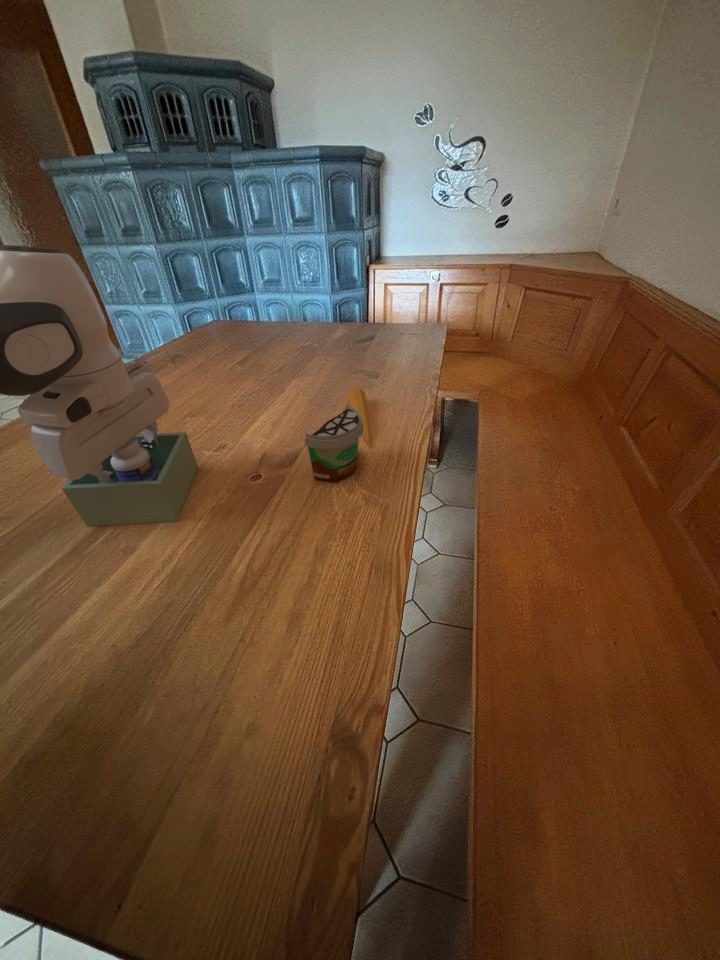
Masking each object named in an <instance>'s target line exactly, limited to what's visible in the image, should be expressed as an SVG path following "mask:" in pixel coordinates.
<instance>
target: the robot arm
mask: <svg viewBox="0 0 720 960" xmlns="http://www.w3.org/2000/svg"><path fill="white" fill-rule="evenodd" d="M0 396H5V397H24V396H27V398H25V400H23V401H22V403H21V404H20V405H19V406H18V408H17V412H18V415H19V417H20V418H21V419H22V420H23V421H24V422H27V423H30V424H32V425H31V427H30V438H31V441H32V444H33V446H34V449H35V450H36V452H37V454H38V456H39V457H40V459H41V461H42V462H43V465H44V466H45V467H46V468H47V470H48V471H49V472H50V473H51V474H52V475H54V476H56V477H60V478H63V479H68V480H69V479H80V478H81V477H83V476H84V475H85V474H87V473H89V474H91V475H94V476H96V477H97V478H98V480H99V482H100V483H115V482H116V481H117V478H116V477H115V474H114V472H111V471H106V470H103V471H101V470H100V469H102V468H103V466H102V464H101V462H102V461H104V460H105V459H106V458H108V457H109V456H110V455H112V454H113V453H114V452H116V451H117V450H118V449H119V448H121V447H122V446H123V445H125V444H126V443H127V442H129V441H130V440H131V439H133V438H134V437H135V436H137V435H138V434H142V432H143V434H144V439H143V440H141V441H142V444H144V448H145V449H147V450H151V451H153V450H154V449H155V448H157V447H158V446H159V443H158V441H157V438H156V437H157V433H158V428H159V425H158V422H157V421H158V420H159V419H160V418H161V417H163V416H164V415H166V414H167V413H168V412H170V401H169V398H168V395H167V394H166V392H165V389H164V387H163V385H162V384H161V382H160V380H159V379H158V377H157V375H155V372H154V369H153V367H152V365H151V364H150V362H148V361H147V360H145V359H141V358H136V359H134V360H132V361H131V362H130V363H128V364H125V363H124V361H123V358H122V356H121V354H120V351H119V350H118V348H117V347H116V346H115V344H114V343H113V342H112V340H111V338H110V335H109V331H108V322H107V320H106V317H105V314H104V311H103V310H102V308H101V305H100V303H99V301H98V298H97V296H96V294H95V292H94V289H93V288H92V286H91V284H90V282H89V280H88V278H87V276H86V275H85V274H84V271H83V270H82V269H81V267H80V266H79V264H78V263H77V262H76V261H75V260H74V258H73V257H72V256H71V255H70V254H68V253H67V252H65V251H63V250H61V249H59V248H55V247H50V246H31V245H30V246H29V245H16V244H15V245H13V244H12V245H11V244H0Z"/></svg>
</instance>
